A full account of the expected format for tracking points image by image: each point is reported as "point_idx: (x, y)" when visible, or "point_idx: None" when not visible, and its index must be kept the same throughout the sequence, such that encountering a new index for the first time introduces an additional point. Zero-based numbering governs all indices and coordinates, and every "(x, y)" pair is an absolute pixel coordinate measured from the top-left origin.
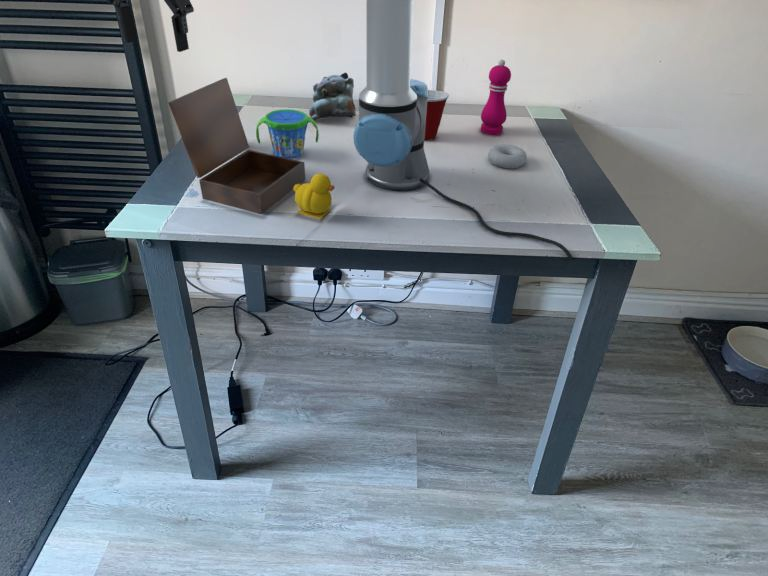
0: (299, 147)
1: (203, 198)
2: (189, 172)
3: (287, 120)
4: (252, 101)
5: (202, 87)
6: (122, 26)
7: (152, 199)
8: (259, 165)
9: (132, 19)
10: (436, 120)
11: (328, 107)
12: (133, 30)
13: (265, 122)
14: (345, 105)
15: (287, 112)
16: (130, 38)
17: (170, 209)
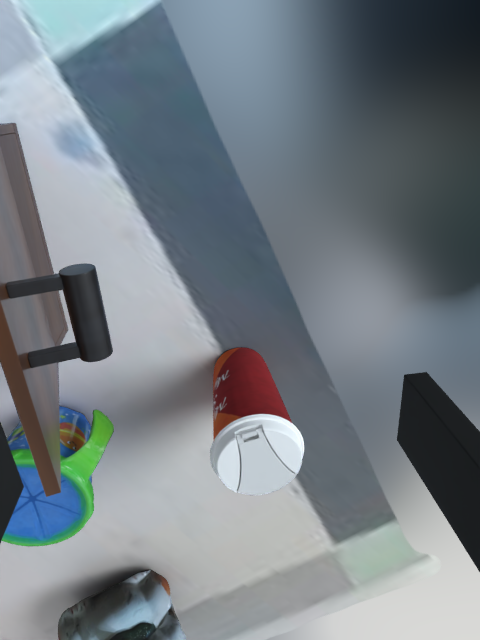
0: None
1: (8, 123)
2: (183, 236)
3: (25, 496)
4: (335, 570)
5: (23, 376)
6: (477, 435)
7: (140, 54)
8: None
9: (462, 535)
10: None
11: (97, 611)
12: (427, 469)
13: (62, 458)
14: (62, 633)
15: (59, 526)
16: (411, 408)
17: (48, 31)
